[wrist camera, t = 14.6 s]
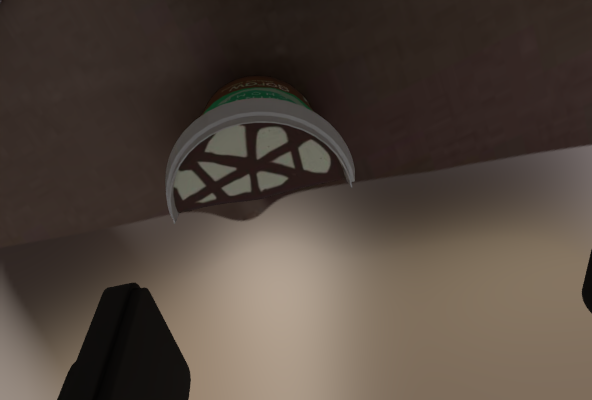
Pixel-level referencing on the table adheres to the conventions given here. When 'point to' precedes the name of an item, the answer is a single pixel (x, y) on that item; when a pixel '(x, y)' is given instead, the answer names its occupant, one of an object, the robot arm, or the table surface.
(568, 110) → the table surface
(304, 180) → the food container
